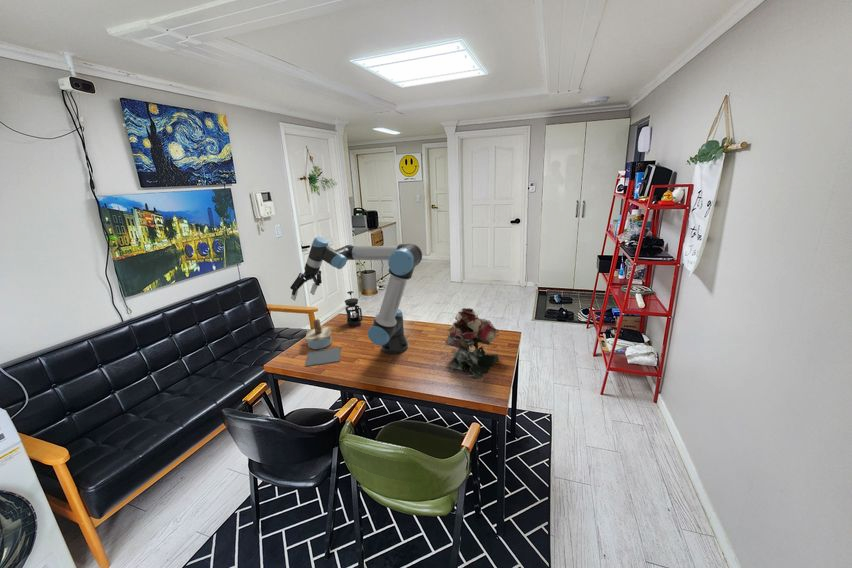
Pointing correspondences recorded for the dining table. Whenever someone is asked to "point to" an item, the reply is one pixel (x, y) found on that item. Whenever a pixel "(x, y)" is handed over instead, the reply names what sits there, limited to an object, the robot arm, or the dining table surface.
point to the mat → (323, 357)
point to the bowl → (319, 343)
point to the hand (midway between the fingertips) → (302, 296)
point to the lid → (318, 332)
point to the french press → (355, 317)
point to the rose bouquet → (471, 342)
